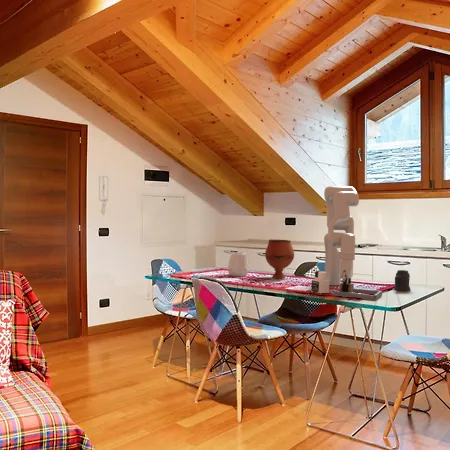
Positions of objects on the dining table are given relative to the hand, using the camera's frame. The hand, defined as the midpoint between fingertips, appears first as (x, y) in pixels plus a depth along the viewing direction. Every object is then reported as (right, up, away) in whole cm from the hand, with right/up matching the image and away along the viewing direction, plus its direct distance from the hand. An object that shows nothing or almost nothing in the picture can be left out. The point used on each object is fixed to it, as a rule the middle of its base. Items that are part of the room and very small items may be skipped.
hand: (346, 290), depth 268 cm
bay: (+5, -3, -3) cm, 6 cm away
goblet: (-30, 0, +60) cm, 67 cm away
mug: (+35, -3, +17) cm, 39 cm away
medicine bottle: (-13, -2, +5) cm, 14 cm away
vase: (-56, +1, +68) cm, 88 cm away
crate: (0, -1, 0) cm, 1 cm away
